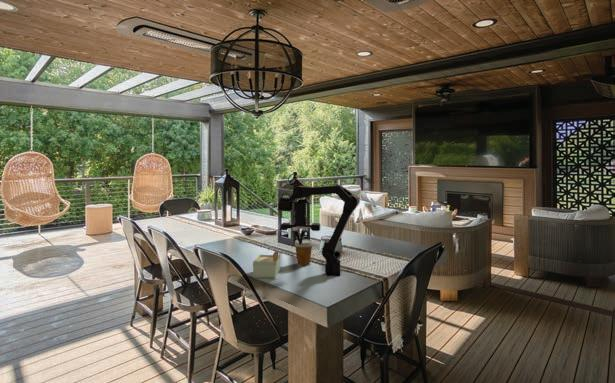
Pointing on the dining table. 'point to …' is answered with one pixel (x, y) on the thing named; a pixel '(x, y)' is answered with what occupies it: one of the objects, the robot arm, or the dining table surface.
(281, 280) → the dining table surface
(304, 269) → the dining table surface
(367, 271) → the dining table surface
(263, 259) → the lid
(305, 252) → the disposable coffee cup
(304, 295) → the dining table surface
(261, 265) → the box
